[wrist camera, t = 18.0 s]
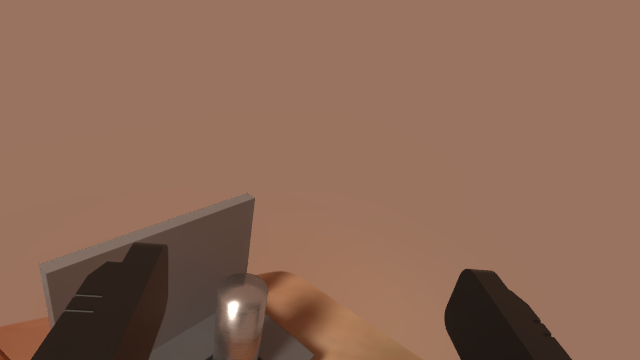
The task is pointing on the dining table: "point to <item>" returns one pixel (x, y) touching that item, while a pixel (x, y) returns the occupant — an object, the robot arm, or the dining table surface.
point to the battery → (3, 356)
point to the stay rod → (239, 317)
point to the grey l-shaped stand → (181, 279)
